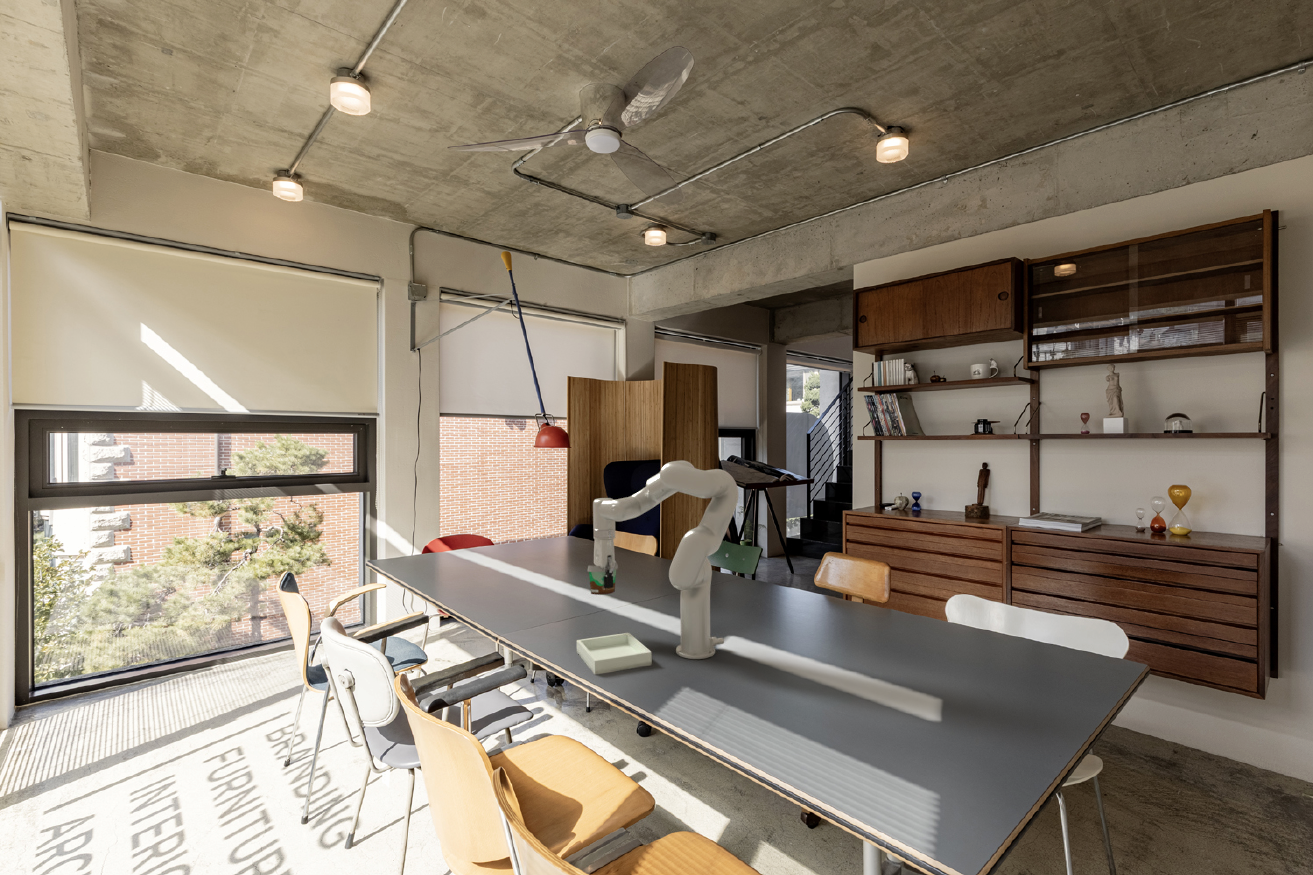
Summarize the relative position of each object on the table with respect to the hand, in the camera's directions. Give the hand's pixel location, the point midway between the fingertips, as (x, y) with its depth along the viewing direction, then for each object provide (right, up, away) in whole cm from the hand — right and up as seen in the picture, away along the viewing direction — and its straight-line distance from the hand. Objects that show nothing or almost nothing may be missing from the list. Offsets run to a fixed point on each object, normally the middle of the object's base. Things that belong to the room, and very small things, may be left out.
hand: (605, 585), depth 210 cm
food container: (+1, -3, -1) cm, 3 cm away
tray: (+4, -18, -20) cm, 27 cm away
